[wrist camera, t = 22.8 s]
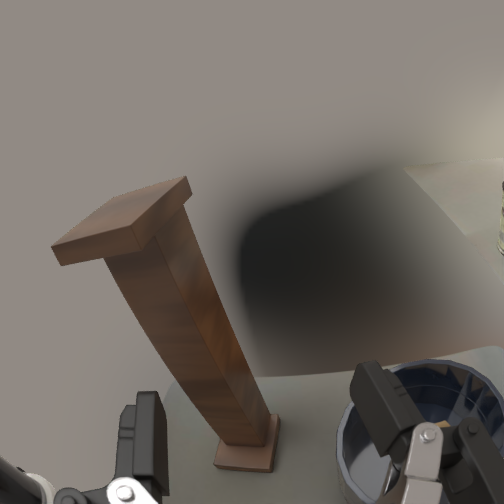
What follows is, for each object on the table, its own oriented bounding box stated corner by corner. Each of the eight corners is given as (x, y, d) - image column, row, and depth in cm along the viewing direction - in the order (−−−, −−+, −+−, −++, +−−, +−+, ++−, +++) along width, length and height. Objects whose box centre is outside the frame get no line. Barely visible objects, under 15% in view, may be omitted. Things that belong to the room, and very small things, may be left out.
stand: (272, 472, 29) (130, 224, 14) (217, 468, 31) (50, 246, 16) (280, 419, 36) (186, 175, 21) (230, 418, 38) (112, 197, 23)
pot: (488, 506, 15) (524, 482, 11) (334, 537, 20) (330, 529, 16) (465, 390, 29) (483, 345, 25) (341, 412, 34) (337, 372, 30)
